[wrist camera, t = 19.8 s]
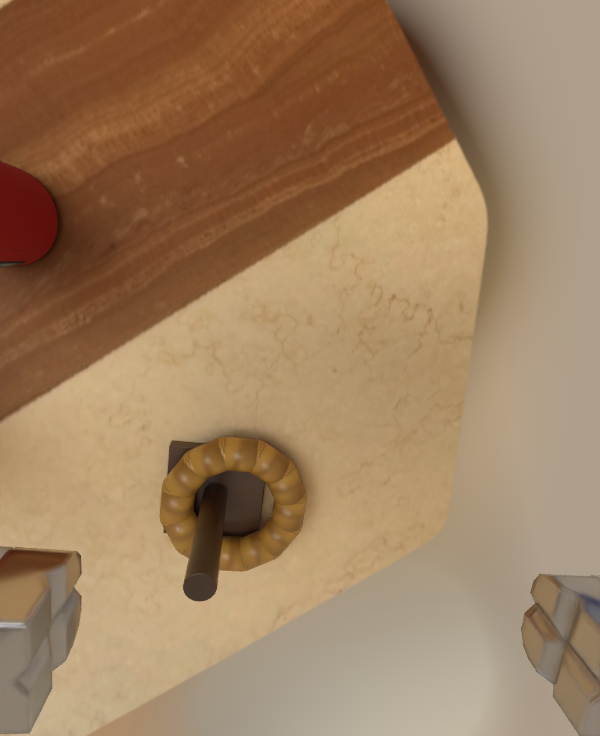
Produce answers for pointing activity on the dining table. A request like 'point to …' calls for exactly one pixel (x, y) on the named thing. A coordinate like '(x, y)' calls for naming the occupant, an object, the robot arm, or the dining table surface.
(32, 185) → the beverage can
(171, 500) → the ring
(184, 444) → the post
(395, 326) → the dining table surface
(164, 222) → the dining table surface
